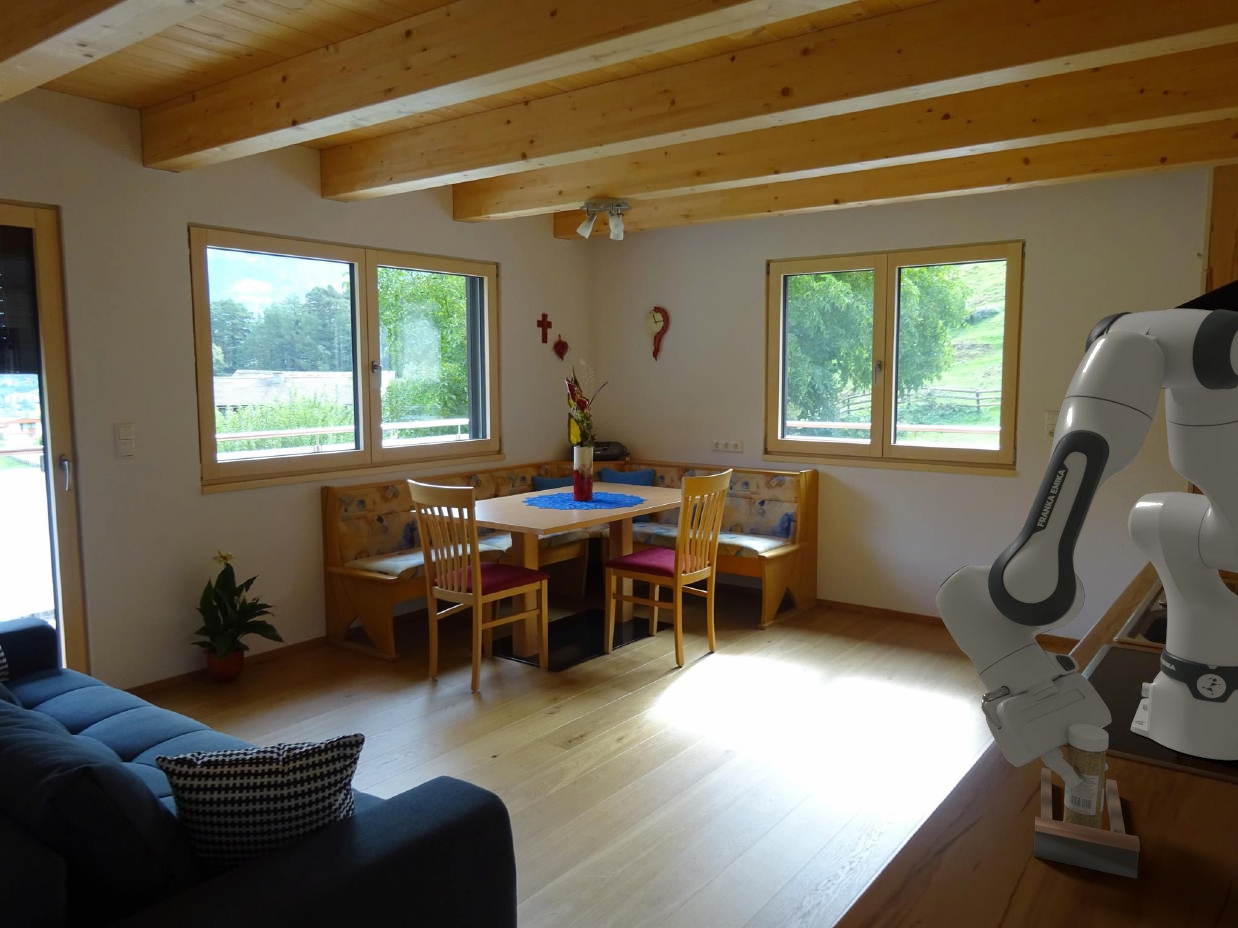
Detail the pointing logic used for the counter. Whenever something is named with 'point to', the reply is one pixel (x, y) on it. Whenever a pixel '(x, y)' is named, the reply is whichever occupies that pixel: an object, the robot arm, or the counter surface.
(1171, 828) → the counter surface
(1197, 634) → the robot arm
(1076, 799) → the sprinkles bottle
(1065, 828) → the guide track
